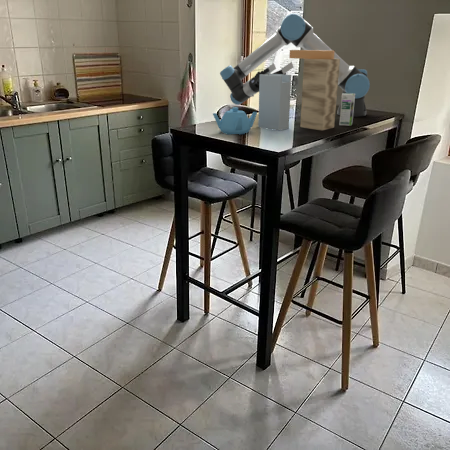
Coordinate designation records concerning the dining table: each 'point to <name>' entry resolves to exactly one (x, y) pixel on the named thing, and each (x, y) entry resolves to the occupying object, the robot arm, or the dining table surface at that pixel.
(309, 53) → the rod
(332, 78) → the wooden block
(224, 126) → the teapot
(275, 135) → the dining table surface
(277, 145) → the dining table surface
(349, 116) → the syrup box
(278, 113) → the block
